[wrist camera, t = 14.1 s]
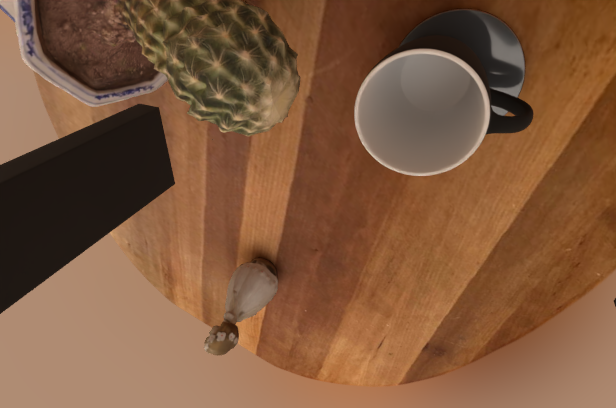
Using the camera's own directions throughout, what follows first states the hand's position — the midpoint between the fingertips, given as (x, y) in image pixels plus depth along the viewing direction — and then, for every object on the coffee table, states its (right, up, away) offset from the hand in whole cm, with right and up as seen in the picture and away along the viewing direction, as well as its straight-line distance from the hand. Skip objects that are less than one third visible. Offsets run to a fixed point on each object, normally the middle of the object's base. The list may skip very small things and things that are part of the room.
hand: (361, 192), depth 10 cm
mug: (+11, +10, +23) cm, 27 cm away
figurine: (-8, -10, +47) cm, 49 cm away
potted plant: (-12, +20, +28) cm, 36 cm away
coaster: (+11, +11, +23) cm, 28 cm away
